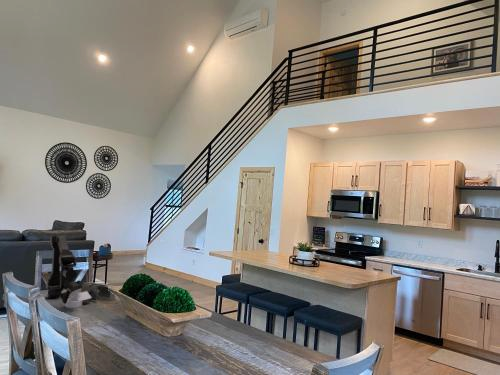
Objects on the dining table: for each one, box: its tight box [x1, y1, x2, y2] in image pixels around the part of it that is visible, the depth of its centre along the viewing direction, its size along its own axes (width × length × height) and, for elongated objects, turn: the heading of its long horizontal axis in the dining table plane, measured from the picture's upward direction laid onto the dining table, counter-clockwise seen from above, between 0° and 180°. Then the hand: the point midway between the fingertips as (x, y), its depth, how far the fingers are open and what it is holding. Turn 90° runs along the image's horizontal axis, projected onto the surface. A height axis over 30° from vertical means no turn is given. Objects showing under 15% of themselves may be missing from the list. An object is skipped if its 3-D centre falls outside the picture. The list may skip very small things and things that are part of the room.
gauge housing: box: [82, 281, 116, 302], centre depth 231 cm, size 22×4×8 cm, turn 69°
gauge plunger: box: [80, 281, 108, 301], centre depth 226 cm, size 18×6×9 cm, turn 69°
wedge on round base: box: [64, 291, 91, 309], centre depth 215 cm, size 9×7×13 cm
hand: (64, 303), depth 207 cm, fingers closed
